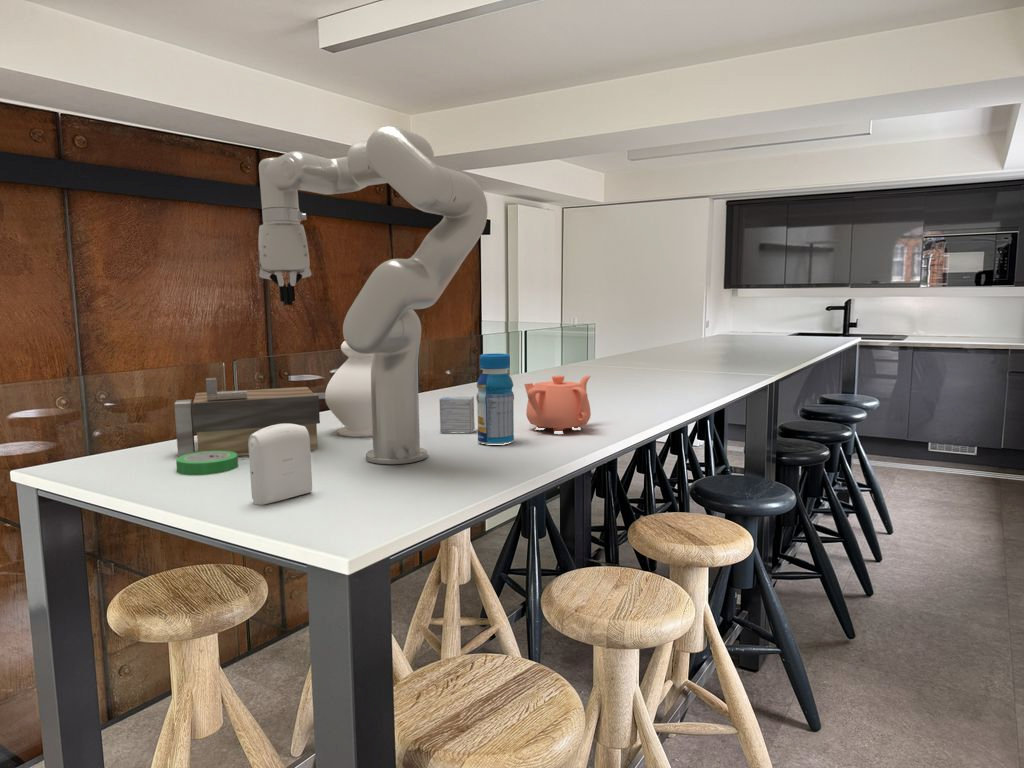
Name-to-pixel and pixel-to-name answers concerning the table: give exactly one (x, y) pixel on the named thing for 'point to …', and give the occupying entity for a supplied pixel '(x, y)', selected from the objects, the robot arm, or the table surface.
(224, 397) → the brushed metal corner piece
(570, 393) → the teapot
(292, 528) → the table surface
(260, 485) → the photo printer
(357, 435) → the decorative vase
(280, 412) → the lid
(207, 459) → the tape roll
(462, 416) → the medicine box
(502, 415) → the beverage bottle
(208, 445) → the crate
